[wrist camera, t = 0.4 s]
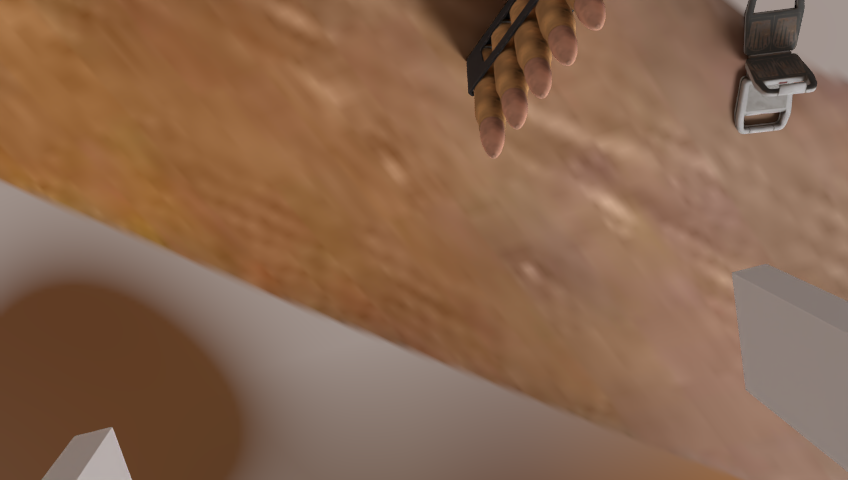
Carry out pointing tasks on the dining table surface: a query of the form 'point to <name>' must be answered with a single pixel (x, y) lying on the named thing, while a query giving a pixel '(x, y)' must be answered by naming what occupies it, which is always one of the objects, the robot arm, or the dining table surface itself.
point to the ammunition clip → (523, 60)
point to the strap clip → (771, 67)
